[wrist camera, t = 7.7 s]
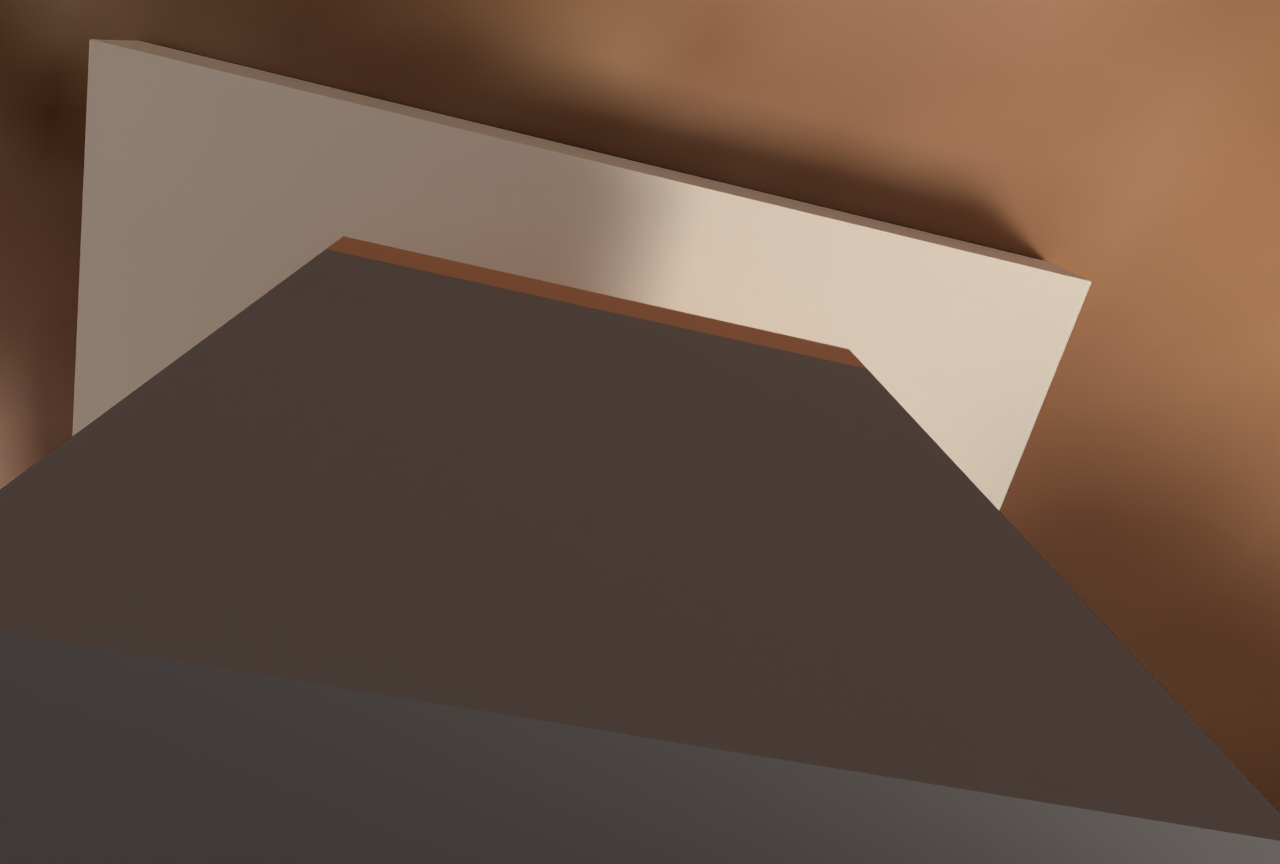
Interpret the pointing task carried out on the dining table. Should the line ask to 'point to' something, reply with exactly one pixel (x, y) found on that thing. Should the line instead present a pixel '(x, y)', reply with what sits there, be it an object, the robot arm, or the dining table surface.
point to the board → (521, 241)
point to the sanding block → (556, 610)
